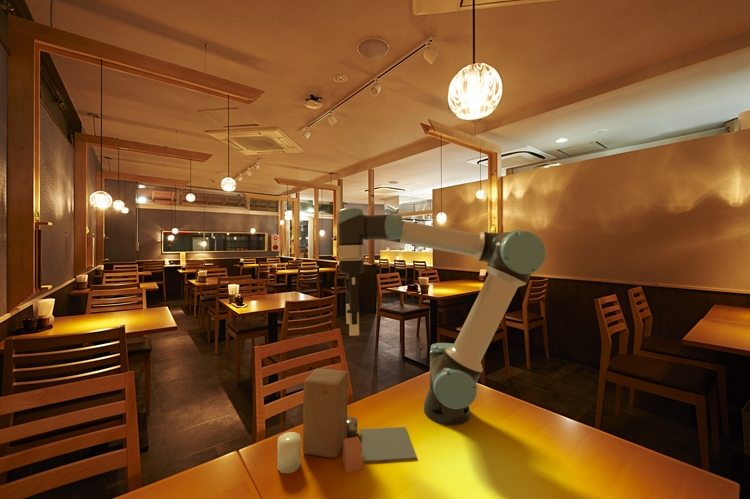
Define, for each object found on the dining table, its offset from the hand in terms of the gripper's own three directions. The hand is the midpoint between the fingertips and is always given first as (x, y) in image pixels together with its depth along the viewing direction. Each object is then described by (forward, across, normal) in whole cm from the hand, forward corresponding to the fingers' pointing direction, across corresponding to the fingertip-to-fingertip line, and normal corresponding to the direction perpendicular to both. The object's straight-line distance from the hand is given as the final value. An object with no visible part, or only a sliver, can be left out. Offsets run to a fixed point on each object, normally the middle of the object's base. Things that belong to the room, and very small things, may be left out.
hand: (352, 329), depth 98 cm
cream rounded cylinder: (+30, +14, -18) cm, 38 cm away
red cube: (+31, +16, -2) cm, 35 cm away
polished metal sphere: (+30, +3, -1) cm, 31 cm away
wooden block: (+30, +8, -9) cm, 33 cm away
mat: (+31, +9, +8) cm, 33 cm away
